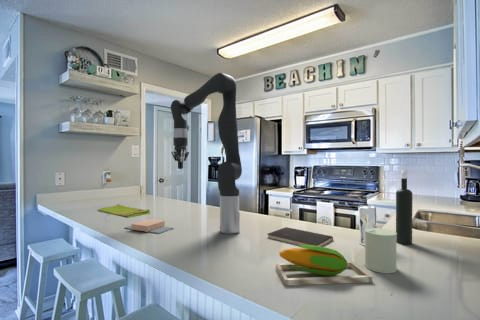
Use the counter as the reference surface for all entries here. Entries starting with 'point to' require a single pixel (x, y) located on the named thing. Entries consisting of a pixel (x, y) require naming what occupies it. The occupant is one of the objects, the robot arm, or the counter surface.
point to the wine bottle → (404, 212)
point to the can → (380, 250)
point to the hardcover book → (300, 237)
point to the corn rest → (323, 280)
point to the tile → (148, 225)
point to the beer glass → (366, 220)
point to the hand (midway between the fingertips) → (180, 168)
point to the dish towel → (124, 211)
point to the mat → (158, 230)
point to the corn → (315, 259)
